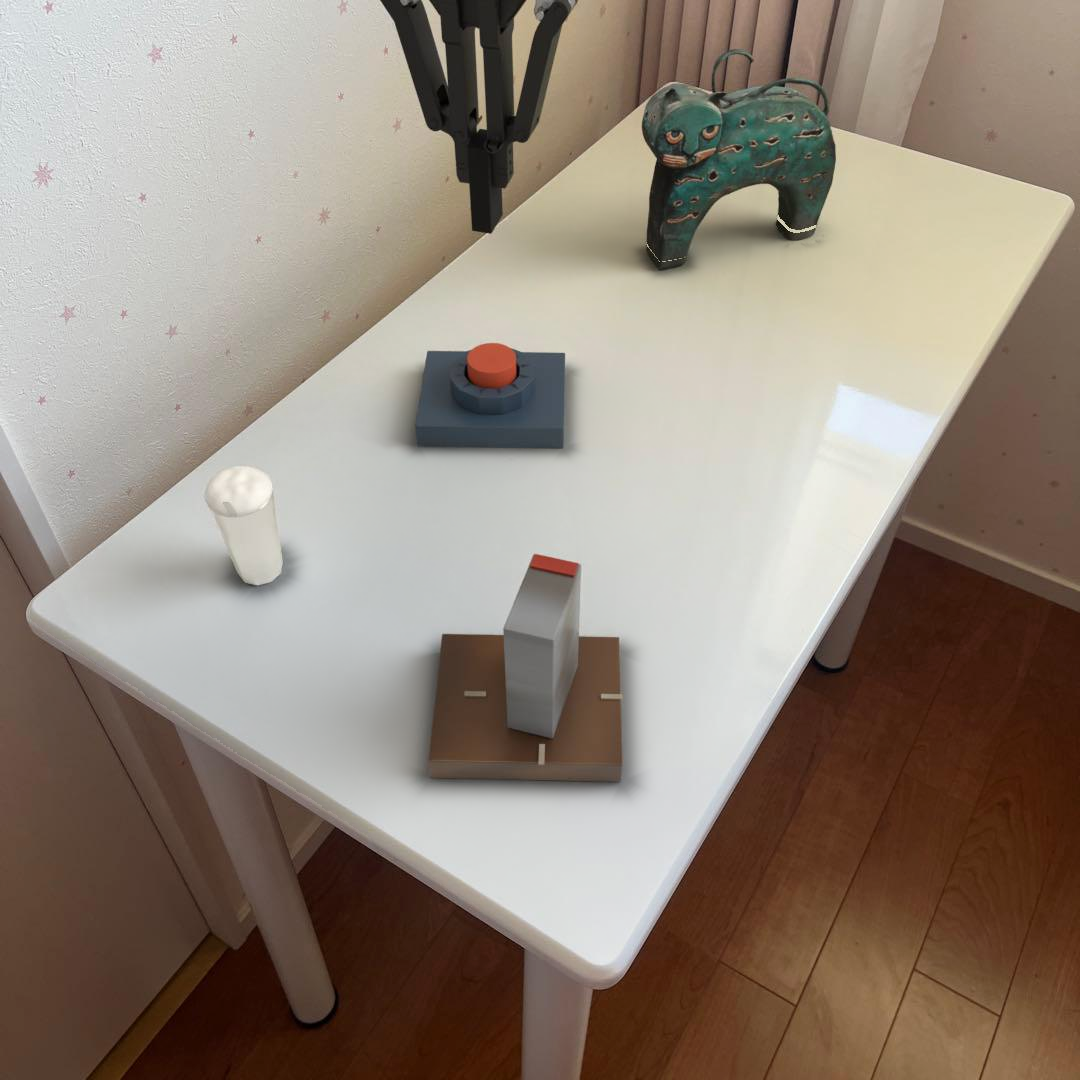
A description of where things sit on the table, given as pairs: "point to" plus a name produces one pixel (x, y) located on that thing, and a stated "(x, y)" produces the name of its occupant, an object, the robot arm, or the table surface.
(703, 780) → the table surface
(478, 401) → the button block
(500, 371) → the button
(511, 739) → the panel
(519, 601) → the grey slab
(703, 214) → the ceramic cat
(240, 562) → the milkshake
